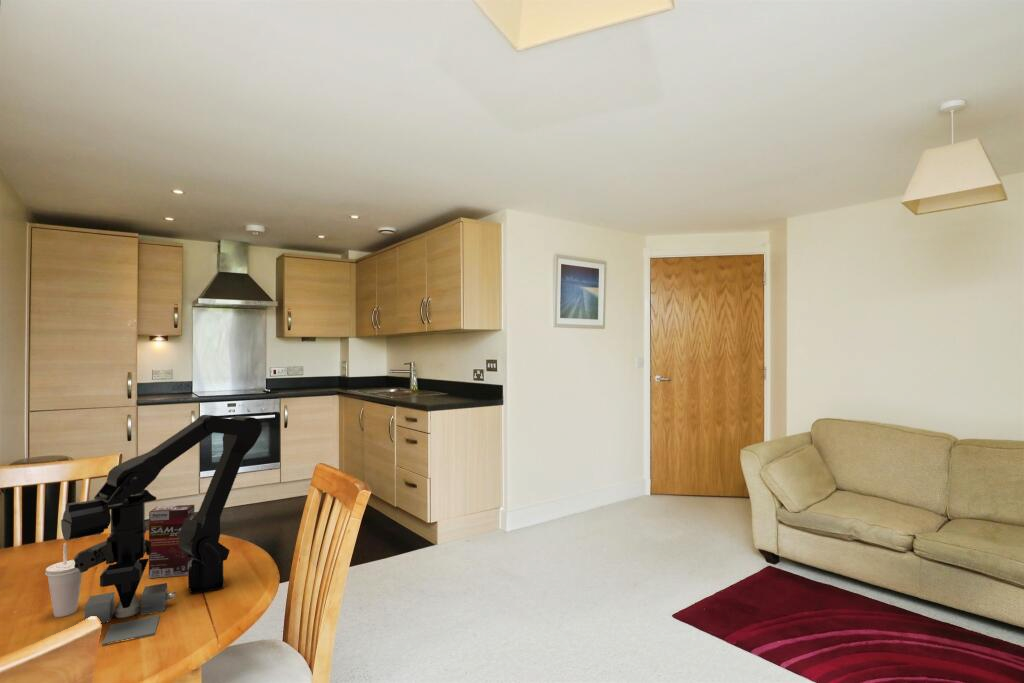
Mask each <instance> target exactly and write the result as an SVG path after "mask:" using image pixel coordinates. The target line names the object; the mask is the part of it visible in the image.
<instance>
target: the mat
mask: <svg viewBox="0 0 1024 683" xmlns="http://www.w3.org/2000/svg"><path fill="white" fill-rule="evenodd" d="M160 617H161V616H160V614H159V615H154V616H149V617H144V618H139V619H133V620H128V621H124V622H118V623H113V624H110V626H109V628H108V630H107V632H106V635H105V636H104V639H103V641H102V643H101V646H102V647H103V646H104V645H105V646H107V645H106V644H108V643H111V642H116V641H121V640H126V639H131V638H138V639H140V638H139V637H143V638H146V637H145V636H148V637H151V636H150V635H152V636H155V634H156V631H157V629H156V628H158V625H159V622H158V621H160Z"/></svg>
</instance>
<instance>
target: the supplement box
mask: <svg viewBox="0 0 1024 683" xmlns="http://www.w3.org/2000/svg"><path fill="white" fill-rule="evenodd" d="M148 516H149V517H148V523H149V524H148V541H149V542H151V550H152V551H151V554H150V555H148V559H149V560H148V578H149V579H154V578H169V577H181V576H185V577H186V576H188V570H189V567H190V566H191V563H192V559H190V558H188V555H187V553H185V552H183V551H182V550H181V549H180V547H179V545H178V541H179V538H180V537H178V536H177V535H178V534H179V533H180V531H181V529H182V526H183V522H184V520H185V518H188V519H190V520H191V519H192V518H193V517H194V516H195V504H185V505H181V504H180V505H167V506H166V505H162V506H156V507H155V508H153V509H151V510H149V512H148Z"/></svg>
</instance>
